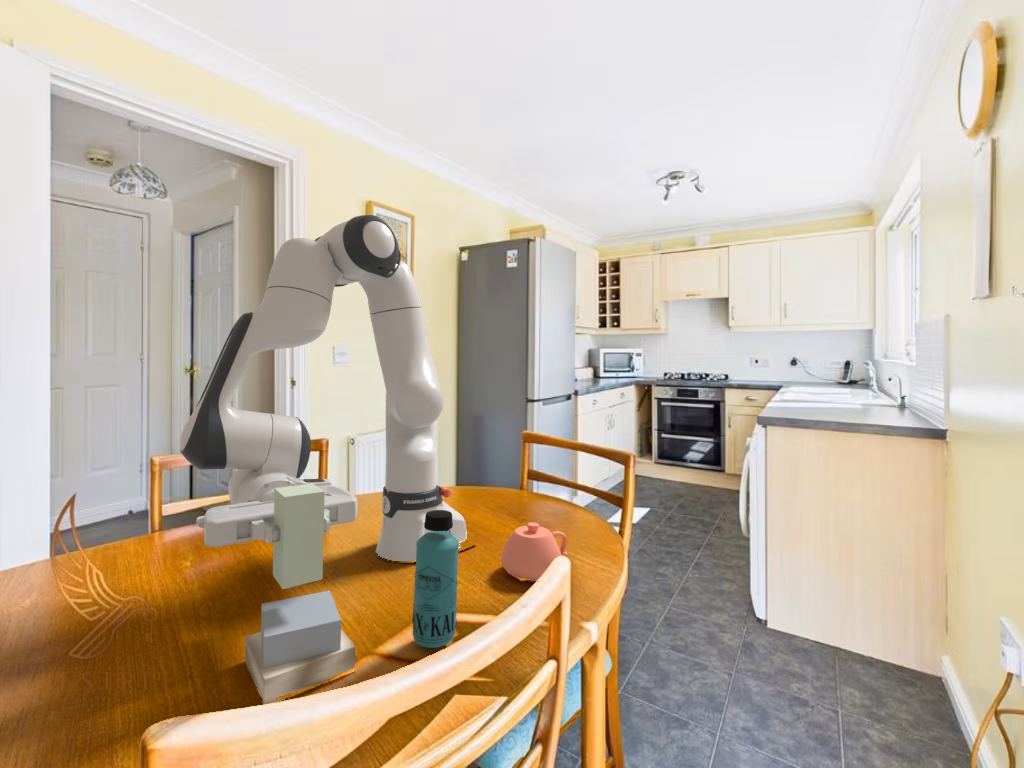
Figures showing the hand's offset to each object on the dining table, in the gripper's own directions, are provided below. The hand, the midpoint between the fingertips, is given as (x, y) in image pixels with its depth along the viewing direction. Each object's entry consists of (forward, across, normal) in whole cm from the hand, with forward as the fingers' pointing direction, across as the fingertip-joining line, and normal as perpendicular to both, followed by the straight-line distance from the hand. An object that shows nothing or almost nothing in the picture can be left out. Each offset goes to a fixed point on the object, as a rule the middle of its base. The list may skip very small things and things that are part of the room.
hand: (300, 531), depth 63 cm
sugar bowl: (-2, +46, +19) cm, 50 cm away
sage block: (-1, 0, +6) cm, 7 cm away
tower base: (0, 0, +19) cm, 19 cm away
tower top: (0, 0, +15) cm, 15 cm away
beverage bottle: (+7, +17, +19) cm, 26 cm away
